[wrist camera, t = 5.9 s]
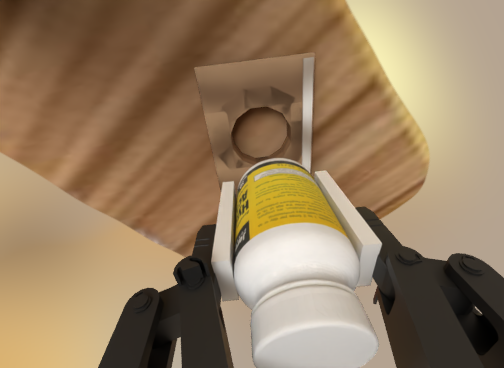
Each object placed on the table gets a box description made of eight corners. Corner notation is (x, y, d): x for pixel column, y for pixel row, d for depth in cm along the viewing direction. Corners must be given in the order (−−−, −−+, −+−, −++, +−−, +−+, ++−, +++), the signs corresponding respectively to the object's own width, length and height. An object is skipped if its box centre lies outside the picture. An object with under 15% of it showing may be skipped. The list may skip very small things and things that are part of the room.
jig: (198, 66, 23) (193, 67, 21) (308, 52, 23) (316, 52, 21) (224, 190, 31) (222, 201, 29) (305, 180, 31) (311, 191, 29)
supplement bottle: (231, 159, 14) (218, 318, 5) (315, 152, 14) (435, 298, 5) (240, 224, 16) (239, 397, 8) (310, 217, 17) (383, 384, 8)
